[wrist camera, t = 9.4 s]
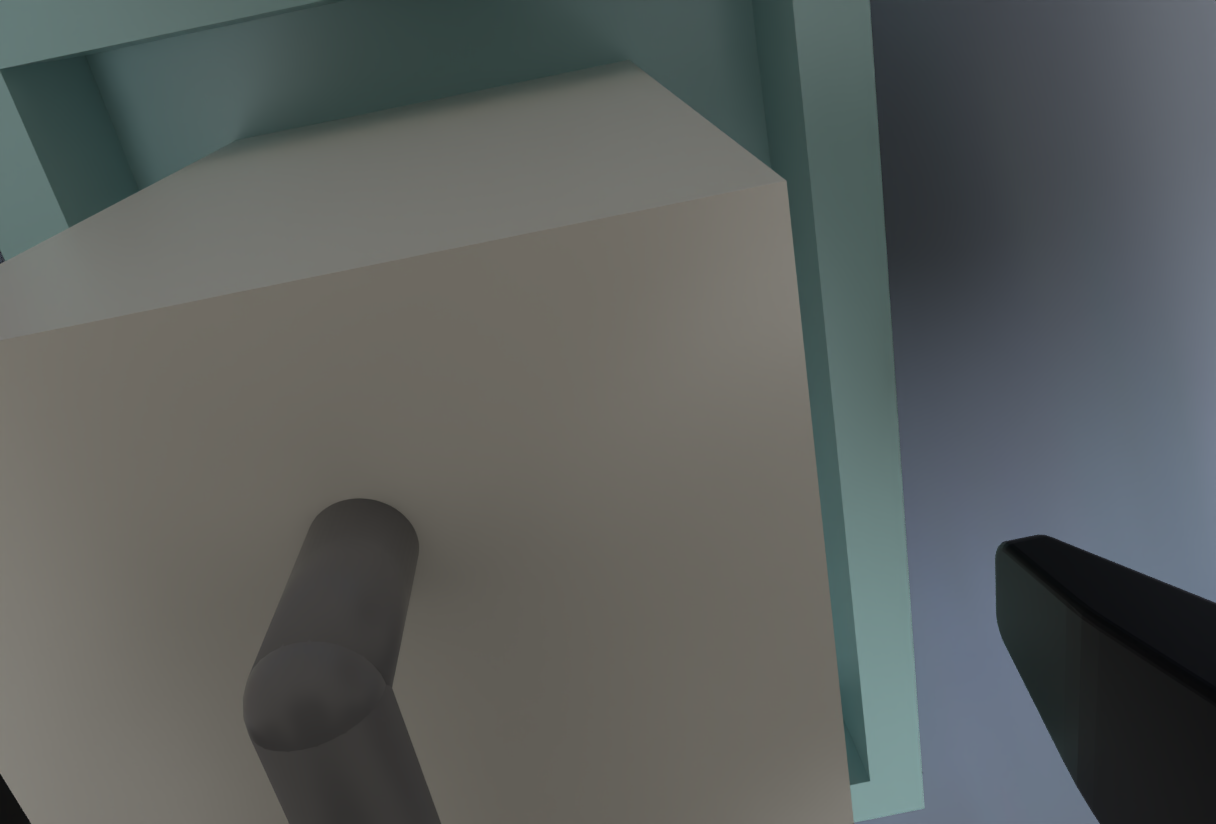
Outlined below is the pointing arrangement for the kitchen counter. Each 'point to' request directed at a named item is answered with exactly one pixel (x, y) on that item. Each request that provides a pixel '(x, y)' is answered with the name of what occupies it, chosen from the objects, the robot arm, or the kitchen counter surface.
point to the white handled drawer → (422, 481)
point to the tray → (505, 54)
